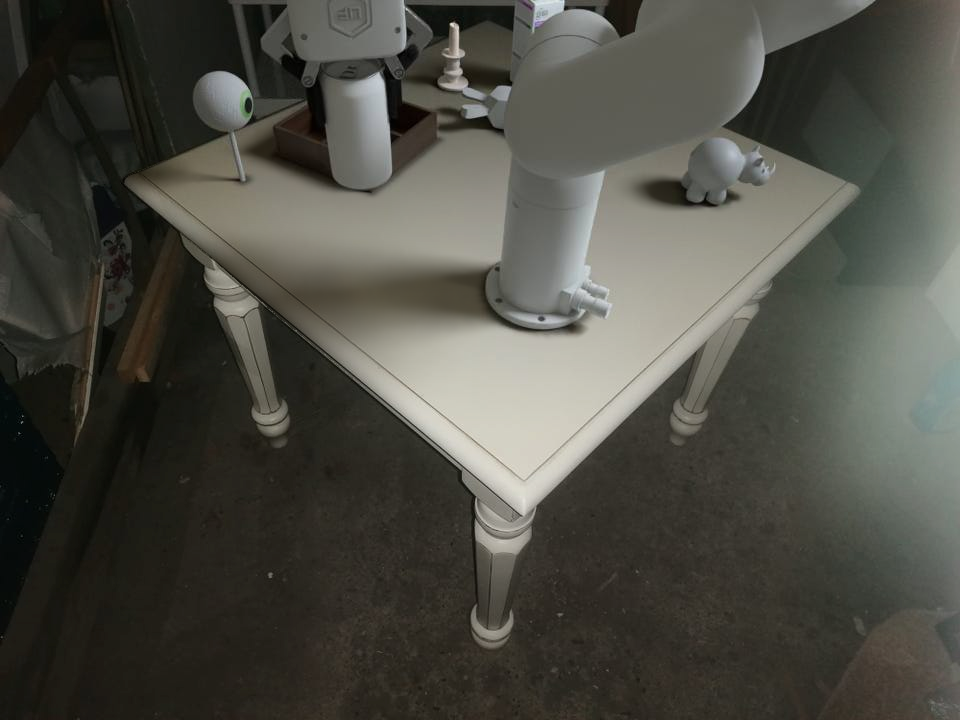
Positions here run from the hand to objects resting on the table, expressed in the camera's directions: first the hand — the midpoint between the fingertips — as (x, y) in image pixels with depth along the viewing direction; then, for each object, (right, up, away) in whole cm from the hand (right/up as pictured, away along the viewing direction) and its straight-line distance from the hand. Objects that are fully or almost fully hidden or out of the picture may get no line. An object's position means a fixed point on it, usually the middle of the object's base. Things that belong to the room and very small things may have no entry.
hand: (356, 113), depth 67 cm
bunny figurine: (+17, +13, +39) cm, 45 cm away
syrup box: (+21, +23, +48) cm, 58 cm away
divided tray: (-6, +7, +32) cm, 34 cm away
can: (0, -5, +5) cm, 7 cm away
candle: (+8, +22, +47) cm, 53 cm away
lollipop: (-20, 0, +25) cm, 33 cm away
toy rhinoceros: (+47, -1, +29) cm, 55 cm away
